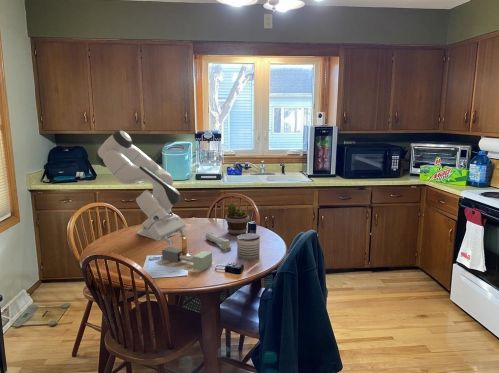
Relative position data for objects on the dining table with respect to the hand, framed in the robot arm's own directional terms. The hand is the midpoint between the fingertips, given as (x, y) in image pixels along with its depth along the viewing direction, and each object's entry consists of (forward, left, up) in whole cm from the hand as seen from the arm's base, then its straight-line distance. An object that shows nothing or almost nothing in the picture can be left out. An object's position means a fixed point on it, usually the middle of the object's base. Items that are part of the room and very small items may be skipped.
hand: (178, 240), depth 180 cm
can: (+26, +23, -12) cm, 37 cm away
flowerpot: (+1, +56, -12) cm, 58 cm away
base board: (+3, +1, -12) cm, 12 cm away
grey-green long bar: (+2, +32, -12) cm, 34 cm away
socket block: (+13, +1, -11) cm, 17 cm away
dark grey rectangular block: (-4, +1, -11) cm, 12 cm away
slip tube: (+1, +1, -10) cm, 10 cm away
